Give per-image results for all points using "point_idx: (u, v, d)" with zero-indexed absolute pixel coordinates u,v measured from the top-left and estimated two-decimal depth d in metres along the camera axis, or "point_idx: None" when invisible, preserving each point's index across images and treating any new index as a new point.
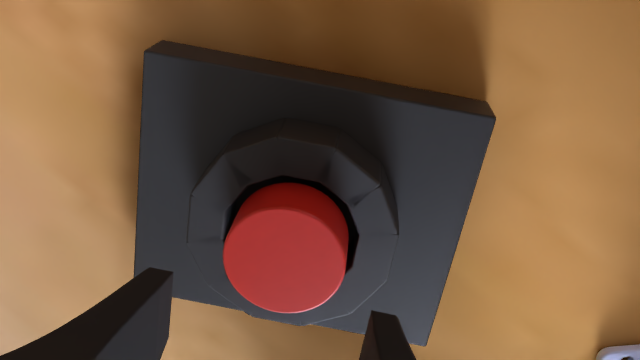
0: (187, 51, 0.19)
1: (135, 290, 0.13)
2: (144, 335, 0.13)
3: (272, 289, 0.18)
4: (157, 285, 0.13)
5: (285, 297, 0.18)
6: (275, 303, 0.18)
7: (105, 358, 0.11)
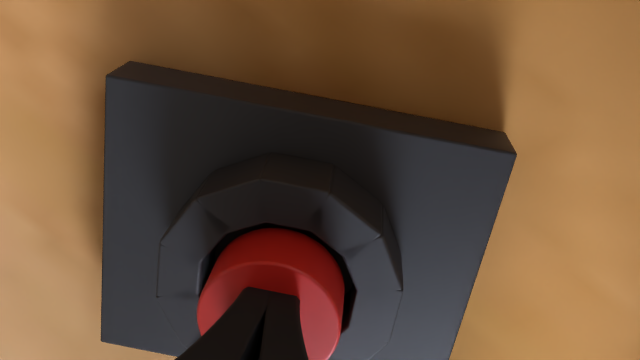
0: (158, 74, 0.17)
1: (244, 311, 0.13)
2: (253, 356, 0.13)
3: None
4: (263, 306, 0.13)
5: None
6: None
7: None
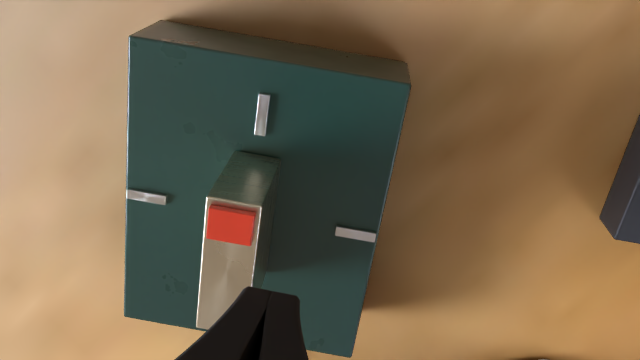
0: None
1: (244, 311, 0.13)
2: (252, 356, 0.13)
3: None
4: (263, 306, 0.13)
5: None
6: None
7: None
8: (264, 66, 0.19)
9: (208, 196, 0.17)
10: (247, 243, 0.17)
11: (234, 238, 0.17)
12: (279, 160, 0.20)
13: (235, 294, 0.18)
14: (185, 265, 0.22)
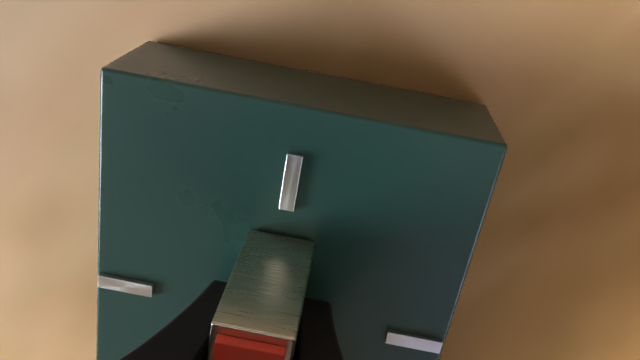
0: None
1: (208, 304, 0.13)
2: None
3: None
4: None
5: None
6: None
7: None
8: (295, 116, 0.13)
9: (214, 321, 0.11)
10: None
11: None
12: (312, 244, 0.14)
13: None
14: None
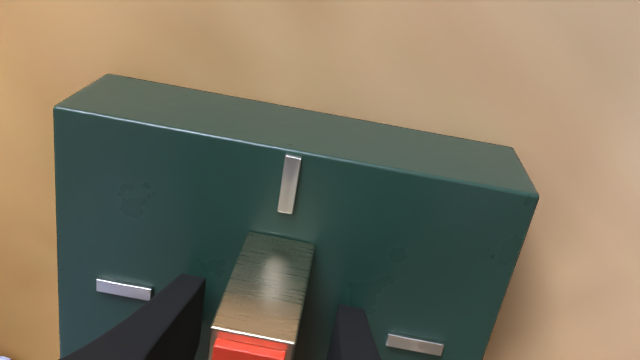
0: None
1: (171, 297, 0.13)
2: (180, 342, 0.13)
3: None
4: (192, 292, 0.13)
5: None
6: None
7: None
8: (476, 348, 0.15)
9: (213, 325, 0.11)
10: None
11: None
12: (313, 247, 0.14)
13: None
14: (172, 218, 0.14)
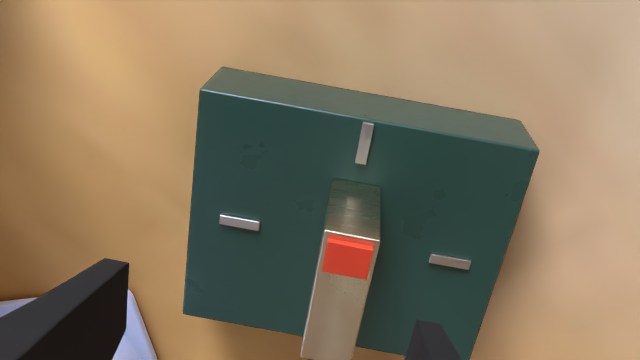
0: None
1: (85, 280, 0.13)
2: (95, 325, 0.13)
3: None
4: (109, 276, 0.13)
5: None
6: None
7: (47, 347, 0.11)
8: (494, 264, 0.21)
9: (326, 229, 0.17)
10: (363, 277, 0.17)
11: (350, 271, 0.17)
12: (379, 188, 0.20)
13: (343, 326, 0.18)
14: (278, 169, 0.20)
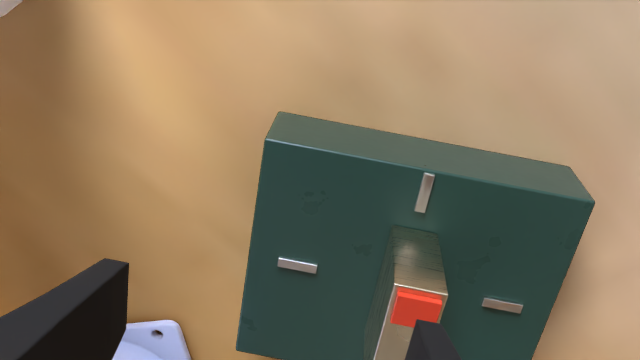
0: None
1: (86, 280, 0.13)
2: (95, 325, 0.13)
3: None
4: (109, 276, 0.13)
5: None
6: None
7: (47, 347, 0.11)
8: (545, 308, 0.21)
9: (396, 283, 0.17)
10: None
11: None
12: (437, 236, 0.20)
13: None
14: (338, 215, 0.21)
